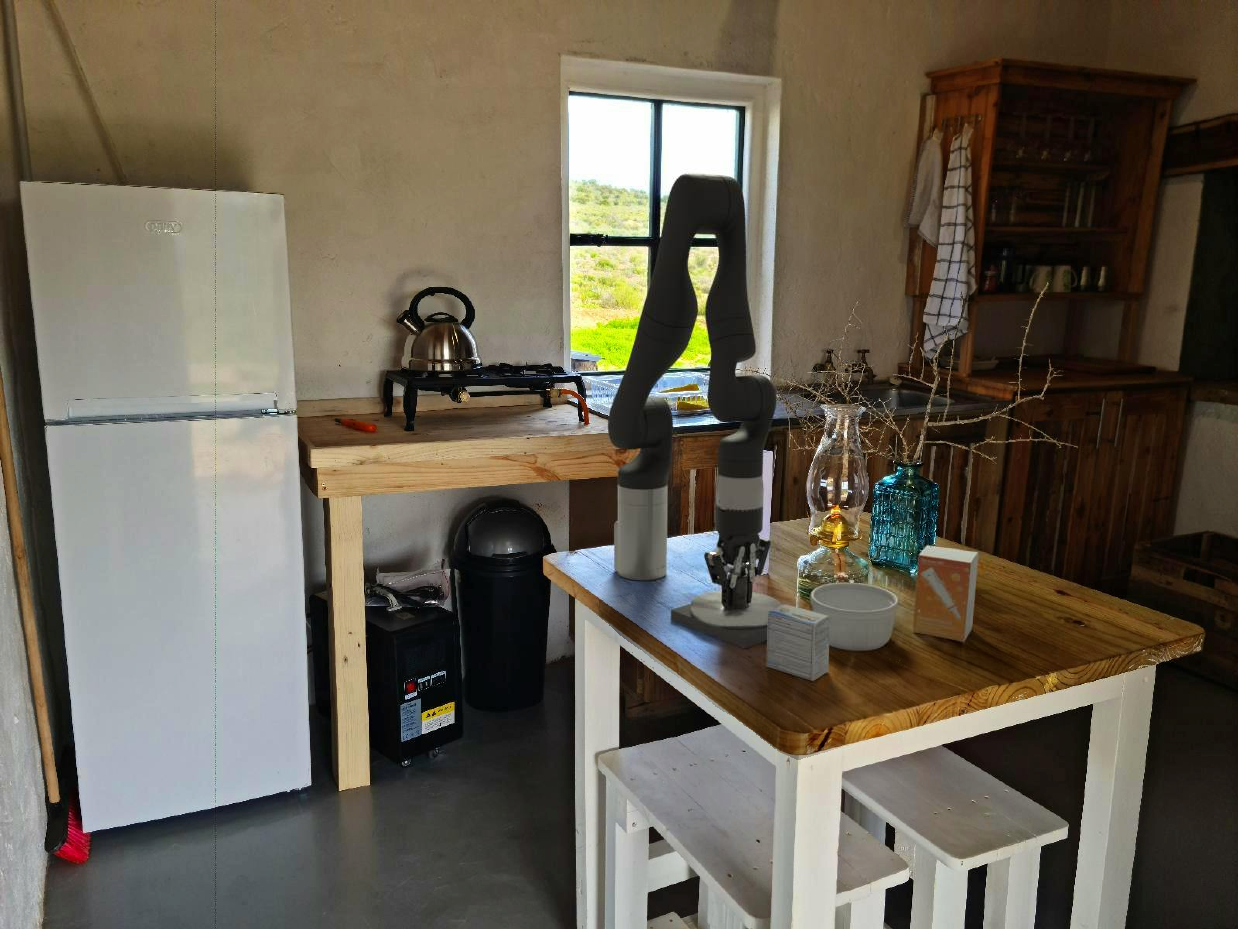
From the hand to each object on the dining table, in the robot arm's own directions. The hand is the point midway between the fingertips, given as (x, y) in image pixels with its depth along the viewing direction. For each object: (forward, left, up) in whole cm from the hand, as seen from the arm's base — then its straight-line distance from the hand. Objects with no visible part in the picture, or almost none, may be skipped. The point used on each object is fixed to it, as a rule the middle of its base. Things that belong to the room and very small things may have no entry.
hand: (736, 604), depth 158 cm
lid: (0, 0, -1) cm, 1 cm away
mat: (0, 0, -3) cm, 3 cm away
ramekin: (+16, +9, -3) cm, 19 cm away
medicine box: (+18, -7, -3) cm, 20 cm away
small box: (+24, +22, -3) cm, 33 cm away
